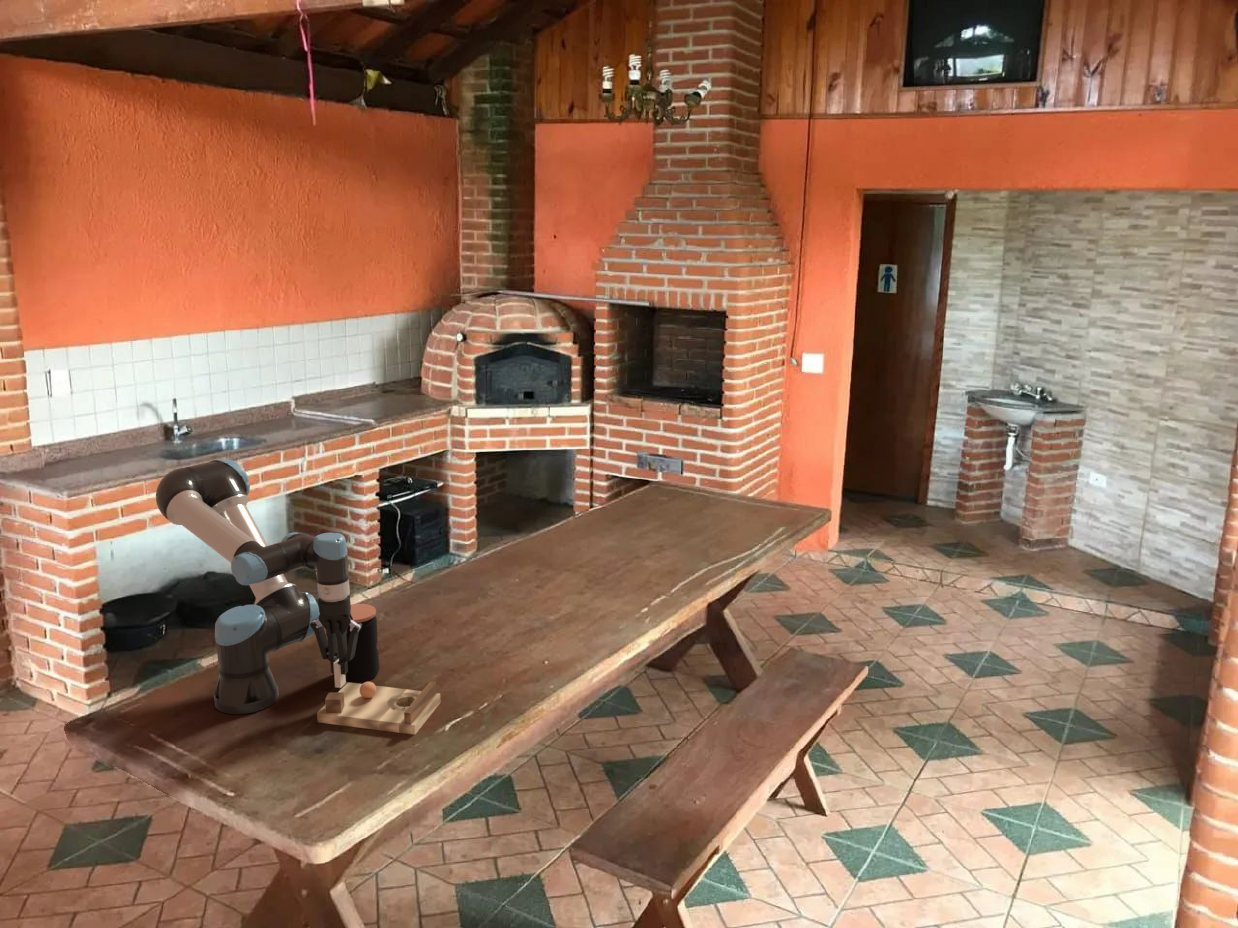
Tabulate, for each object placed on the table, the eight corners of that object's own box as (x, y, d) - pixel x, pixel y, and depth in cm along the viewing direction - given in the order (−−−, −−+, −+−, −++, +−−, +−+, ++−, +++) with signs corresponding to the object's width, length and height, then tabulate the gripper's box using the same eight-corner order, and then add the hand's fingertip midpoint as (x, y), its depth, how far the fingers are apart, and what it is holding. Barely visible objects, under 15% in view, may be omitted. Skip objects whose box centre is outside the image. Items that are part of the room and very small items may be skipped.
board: (317, 722, 243) (316, 701, 242) (348, 691, 258) (347, 671, 257) (415, 734, 238) (414, 713, 237) (440, 702, 253) (439, 682, 252)
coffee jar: (387, 674, 267) (384, 611, 263) (352, 688, 260) (348, 623, 255) (365, 662, 275) (361, 600, 270) (330, 675, 267) (325, 611, 262)
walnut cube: (326, 713, 242) (325, 699, 242) (329, 706, 246) (328, 692, 245) (341, 713, 243) (340, 699, 242) (344, 705, 246) (343, 692, 245)
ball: (357, 700, 249) (356, 685, 248) (364, 692, 253) (363, 678, 252) (372, 702, 248) (371, 687, 247) (379, 694, 252) (378, 679, 251)
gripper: (301, 600, 243) (308, 689, 249) (351, 604, 240) (357, 695, 246) (316, 588, 250) (323, 675, 256) (365, 593, 247) (371, 681, 253)
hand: (340, 685), depth 251 cm, fingers closed
